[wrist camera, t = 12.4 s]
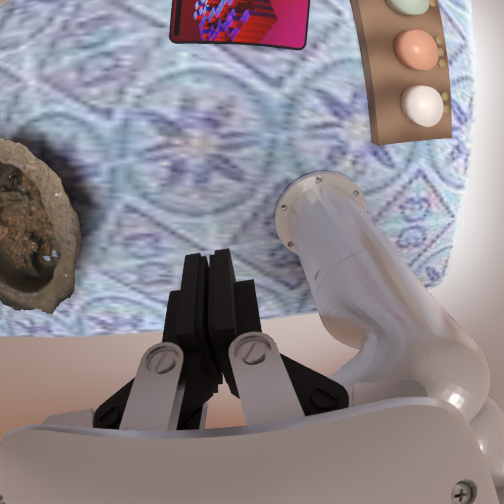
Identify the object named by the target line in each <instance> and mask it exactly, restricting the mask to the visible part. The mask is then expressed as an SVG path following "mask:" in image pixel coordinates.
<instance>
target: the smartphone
mask: <svg viewBox="0 0 504 504" xmlns="http://www.w3.org/2000/svg"><path fill="white" fill-rule="evenodd" d="M309 8H310V0H172V9H171V20H170V32H169V38H170V40H171V41H172V42H173V43H176V44H183V43H198V44H211V43H214V44H242V45H256V46H267V47H276V48H284V49H292V50H302V49H303V48H304V47H305V46H306V40H307V30H308V19H309Z"/></svg>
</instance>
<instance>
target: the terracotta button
mask: <svg viewBox="0 0 504 504" xmlns="http://www.w3.org/2000/svg"><path fill="white" fill-rule="evenodd" d="M394 51H395V54H396V56H397V58H398V60H399V61H400V62H401V63H402V64H403V65H404V66H406V67H408V68H411V69H419V70H430V69H432V68H433V67H434V66H435V65H436V63H437V61H438V57H439V51H438V47H437V44H436V42H435V40H434V39H433V38H432V37H431V36H430V35H429V34H428V33H427V32H425V31H422V30H409V31H403V32H400V33H399V34H398V35H397V36H396V38H395V41H394Z"/></svg>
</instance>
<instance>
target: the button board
mask: <svg viewBox="0 0 504 504" xmlns="http://www.w3.org/2000/svg"><path fill="white" fill-rule="evenodd" d="M350 2H351V6H352V10H353V15H354V19H355V24H356V29H357V34H358V39H359V45H360V50H361V56H362V62H363V68H364V75H365V82H366V90H367V98H368V106H369V116H370V126H371V138H372V142H374V143H375V144H377V145H386V144H394V143H402V142H411V141H421V140H431V139H443V138H452V122H451V94H450V80H449V69H448V60H447V52H446V44H445V38H444V32H443V26H442V20H441V15H440V10H439V6H438V1H437V0H429V7H428V9H427V11H426V12H424V13H422V14H417V15H411V16H403V15H400V14H398V13H396V12H395V11H393V10H392V9H391V8H390V7H389V6H388V4H387V3H386V1H385V0H350ZM409 30H422V31H425V32H427V33H428V34H429V35H430V36H431V37H432V38H433V39H434V40H435V42H436V44H437V47H438V51H439V57H438V61H437V63H436V65H435V66H434V67H433V68H432V69H430V70H419V69H411V68H408V67H406V66H404V65H403V64H402V63H401V62H400V61H399V60H398V58H397V56H396V54H395V51H394V41H395V38H396V36H397V35H398V34H399V33H400V32H403V31H409ZM414 84H418V85H423V86H428V87H431V88H433V89H435V90H436V91H437V92H438V93H439V94H440V96H441V98H442V101H443V114H442V117H441V119H440V121H439V122H438V123H437V124H435V125H434V126H431V127H425V126H422V125H420V124H417V123H415V122H412V121H410V120H409V119H408V118H406V116H405V115H404V113H403V111H402V108H401V97H402V94H403V92H404V90H405V89H406V88H407V87H409V86H410V85H414Z"/></svg>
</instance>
